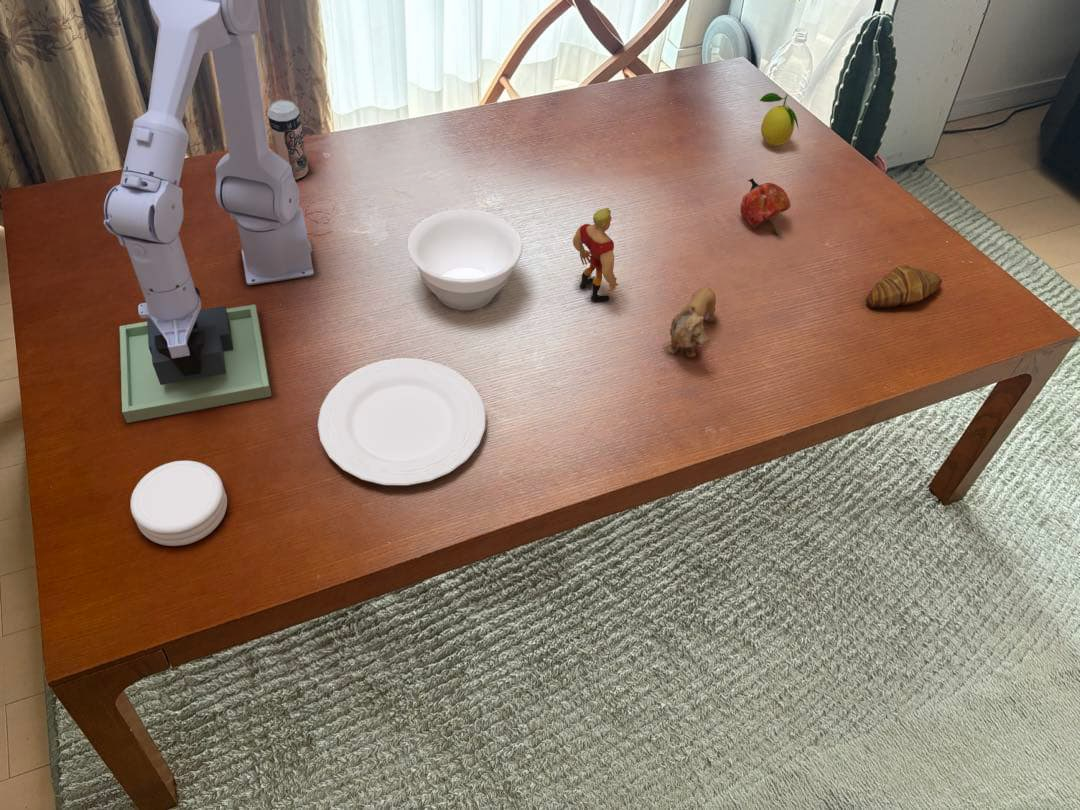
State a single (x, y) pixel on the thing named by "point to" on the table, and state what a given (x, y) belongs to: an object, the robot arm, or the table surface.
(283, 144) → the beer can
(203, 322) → the pad
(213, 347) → the loose pad
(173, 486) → the white short cylinder
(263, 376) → the tray
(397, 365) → the plate
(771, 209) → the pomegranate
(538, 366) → the table surface
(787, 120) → the lemon
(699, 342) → the lion figurine
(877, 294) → the croissant
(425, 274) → the bowl
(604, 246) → the action figure
